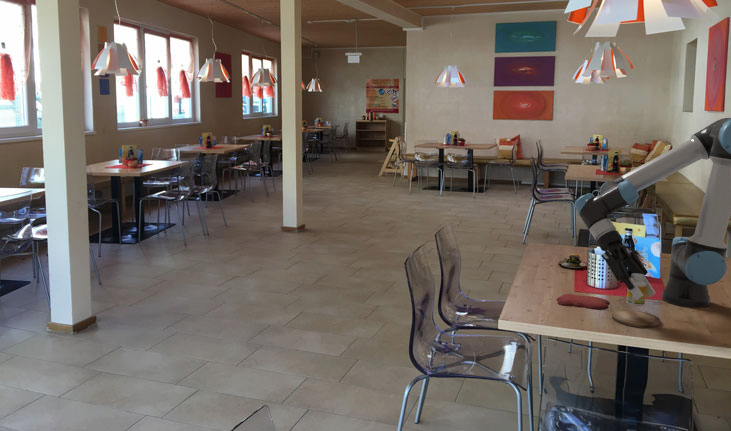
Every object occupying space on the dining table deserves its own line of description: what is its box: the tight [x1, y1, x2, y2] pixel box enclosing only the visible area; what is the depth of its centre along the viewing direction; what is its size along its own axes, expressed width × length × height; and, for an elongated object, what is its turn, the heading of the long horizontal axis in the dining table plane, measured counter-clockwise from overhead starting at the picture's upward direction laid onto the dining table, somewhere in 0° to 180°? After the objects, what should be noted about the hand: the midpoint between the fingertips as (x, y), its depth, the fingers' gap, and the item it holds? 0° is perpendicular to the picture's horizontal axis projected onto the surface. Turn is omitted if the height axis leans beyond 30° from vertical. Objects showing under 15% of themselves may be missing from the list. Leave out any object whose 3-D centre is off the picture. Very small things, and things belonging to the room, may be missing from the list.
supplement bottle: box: [625, 272, 647, 307], centre depth 196 cm, size 5×5×10 cm
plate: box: [611, 309, 661, 329], centre depth 197 cm, size 14×14×1 cm
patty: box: [556, 293, 610, 311], centre depth 216 cm, size 18×14×2 cm
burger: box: [557, 250, 588, 270], centre depth 268 cm, size 12×12×8 cm
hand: (645, 296), depth 193 cm, fingers closed on supplement bottle, 5 cm apart
